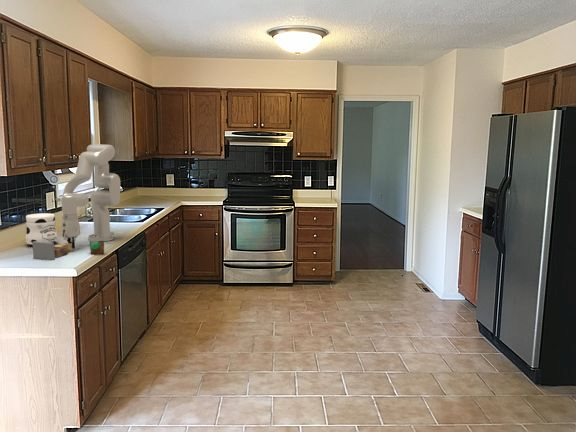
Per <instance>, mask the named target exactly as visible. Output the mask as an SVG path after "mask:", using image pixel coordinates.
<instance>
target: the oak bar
mask: <svg viewBox="0 0 576 432" xmlns="http://www.w3.org/2000/svg"><path fill="white" fill-rule="evenodd" d="M63 247H68V254H70V253H72V252H73V249H72V243H68V242H63V243H60V244H55V245H54V250H56V249H60V248H63Z"/></svg>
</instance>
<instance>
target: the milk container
mask: <svg viewBox="0 0 576 432" xmlns="http://www.w3.org/2000/svg"><path fill="white" fill-rule="evenodd" d="M25 226H26V233H25V242H26V245H28V246H31V247H33V244H32V242H34V241H39V242H51V243H54V244H56V243H57V242H58V238H59V233H58V232H57V231H58V230H57V228H56V216H55V214H54V213H49V212H48V213H47V212H45V213H44V212H41V213H31V214H26V216H25Z"/></svg>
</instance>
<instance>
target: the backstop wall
mask: <svg viewBox="0 0 576 432" xmlns="http://www.w3.org/2000/svg"><path fill="white" fill-rule="evenodd" d="M32 244H33V246H32V253H33V255H32V256H33V259H34V260H44V259H45V261H54V260H56V257H55V251H54V246H55V243H51V242H39V241H34V242H32Z"/></svg>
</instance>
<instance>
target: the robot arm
mask: <svg viewBox="0 0 576 432" xmlns="http://www.w3.org/2000/svg"><path fill="white" fill-rule="evenodd" d="M115 155H116V150H115V147H114V146H113V145H111V144H99V143H98V144H97V143H95V144H89V145H88V146H87V147H86V151H83V152H81V153H80V155H79V159H78V162H77V167H76V170H75V171H76V172H75V174H74V176H73V177H71V179H70V180H69V181H68V182H67V183H66V185H64V188H63V193H62V196H61V212H62V214H61V215H62V216H61V217H62V221H61V236H62V237H63V240H64V241H66V243H72V250H74V249H76V244H75V243H76V239H77V238H78V237H79V236H80V235H81V226H80V220H79V218H78V210H77V208H78V207H85V206H87V205H88V204H89V201H90V203H91V206H92V219H93V220H92V221H93V234H96V236H100V237H104V242H110V241H113V240H114V237H113V235H115V232H114V231H111V223H110V221H111V220H110V210H109V209H108V207H116V206H117V205H118V204H119V203H120V199H121V198H120V197H121V178H120V176H119V175H118V174H116V173H115V172H114V173H113V172H110V164H109V161H111V160H112V159H113V158H114V157H115ZM93 171H94V173H93ZM92 174H94V175H93V185H94V186H95V188H98V189H97V190H94V191H92V192H91V194H90V199H89V197H88V195H87V194H84V193H77V192H75V193H74V191H75V190H76V189H77V187H78V186H81V184H84V183H86V182H88V181H90V180H91V178H92ZM99 189H100V190H99ZM101 189H103V190H101ZM105 189H109V190H105Z"/></svg>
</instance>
